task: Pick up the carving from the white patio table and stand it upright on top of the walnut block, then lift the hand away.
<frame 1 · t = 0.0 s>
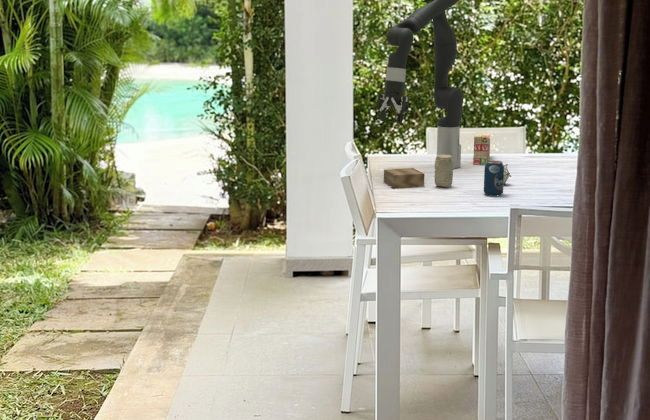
hand: (390, 122, 373), 22 cm above the table, fingers open, 8 cm apart
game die: (499, 185, 367), on the table
carving: (443, 187, 363), on the table
soda can: (493, 195, 349), on the table
cardboard product box: (481, 161, 417), on the table
walnut block: (403, 184, 367), on the table
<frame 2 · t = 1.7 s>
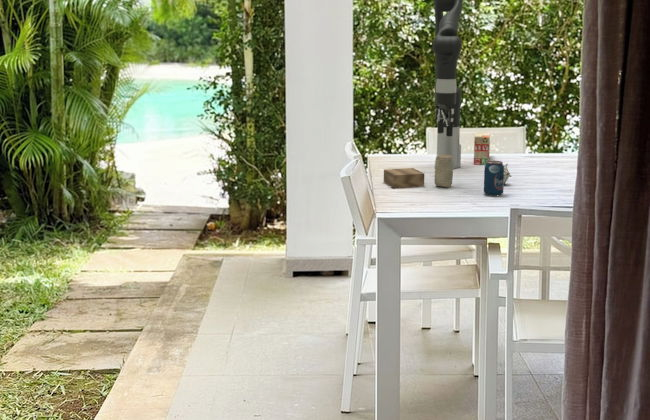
hand: (444, 134, 359), 20 cm above the table, fingers open, 8 cm apart
nothing on the table moved.
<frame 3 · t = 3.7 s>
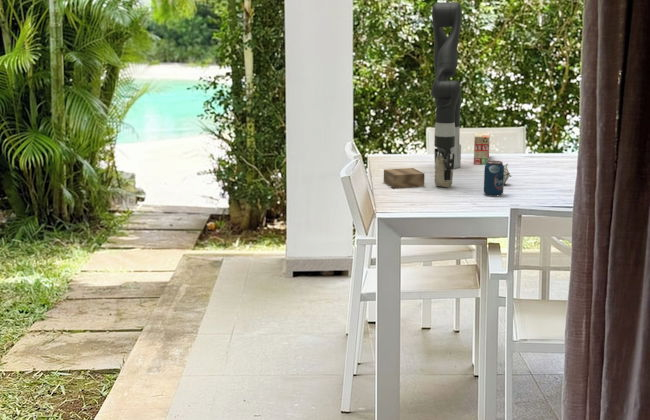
hand: (443, 178, 362), 3 cm above the table, fingers closed on carving, 6 cm apart
carving: (443, 187, 363), on the table, touching gripper
everything else where it was.
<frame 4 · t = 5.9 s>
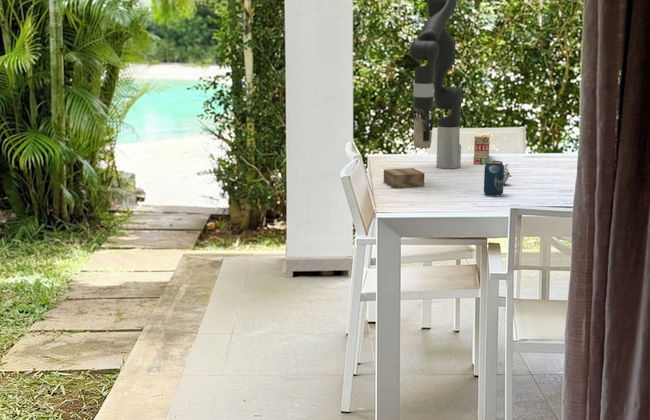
hand: (422, 139, 361), 18 cm above the table, fingers closed on carving, 6 cm apart
carving: (422, 148, 362), point 14 cm above the table, touching gripper
everything else where it was.
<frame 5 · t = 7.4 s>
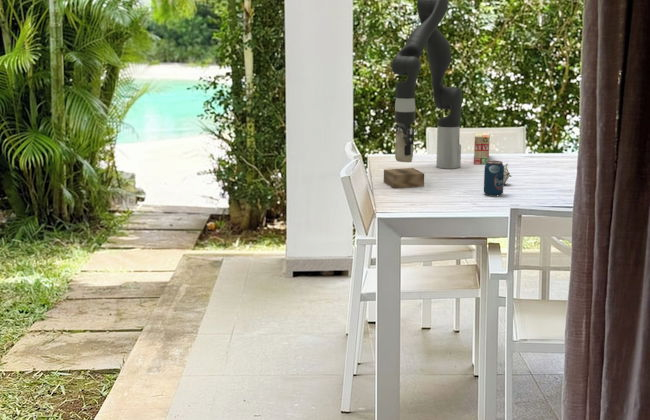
hand: (404, 153, 365), 12 cm above the table, fingers closed on carving, 6 cm apart
carving: (404, 162, 365), point 8 cm above the table, touching gripper
everything else where it was.
when the fingers open (10 cm above the table, at t = 8.4 s): carving drops 1 cm, resting on walnut block.
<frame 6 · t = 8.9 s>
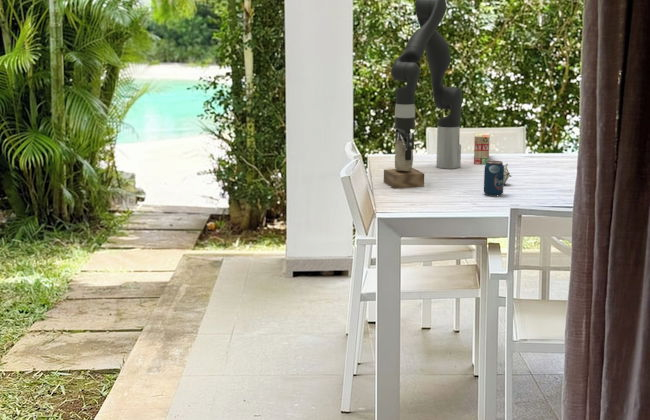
hand: (404, 158, 365), 10 cm above the table, fingers open, 8 cm apart
carving: (403, 171, 367), point 5 cm above the table, touching walnut block
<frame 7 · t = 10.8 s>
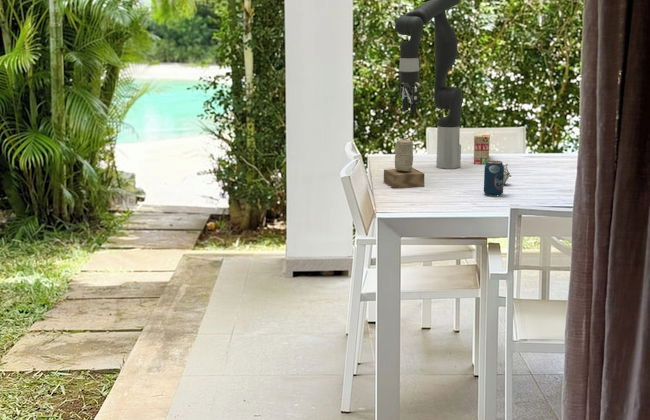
hand: (409, 111, 371), 26 cm above the table, fingers open, 8 cm apart
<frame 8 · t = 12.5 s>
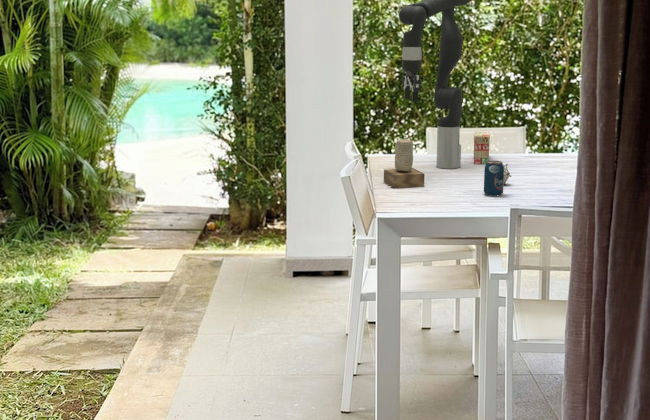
hand: (411, 100, 377), 30 cm above the table, fingers open, 8 cm apart
at the end: carving inside the target area on the walnut block (0.3 cm from its centre), point 4.8 cm above the walnut block's base; carving tilted 0°; the gripper is holding nothing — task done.
